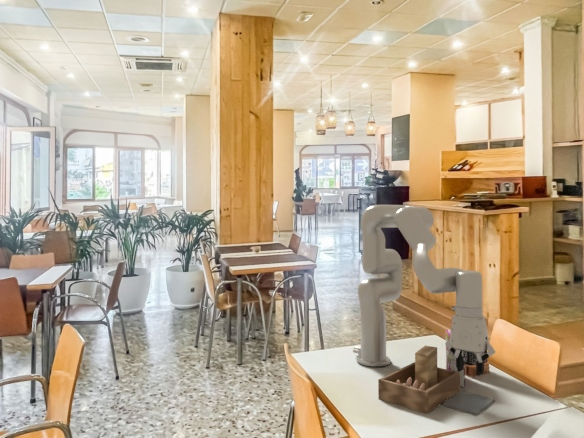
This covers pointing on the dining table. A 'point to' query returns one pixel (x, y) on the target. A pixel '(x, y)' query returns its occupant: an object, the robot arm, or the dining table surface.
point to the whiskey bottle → (474, 362)
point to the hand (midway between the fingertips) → (469, 371)
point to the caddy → (415, 397)
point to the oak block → (426, 366)
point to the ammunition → (413, 384)
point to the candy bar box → (454, 361)
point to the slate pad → (469, 402)
